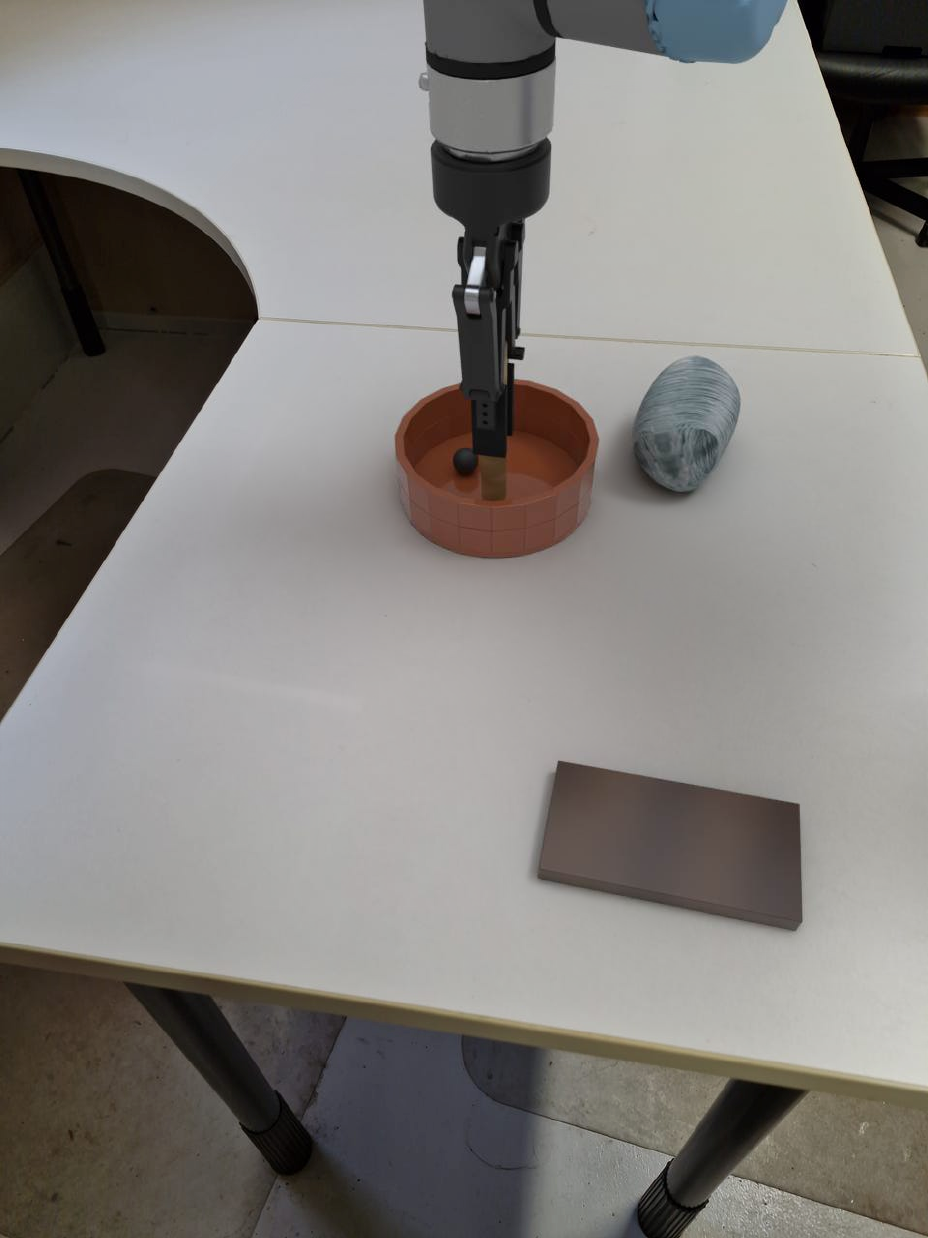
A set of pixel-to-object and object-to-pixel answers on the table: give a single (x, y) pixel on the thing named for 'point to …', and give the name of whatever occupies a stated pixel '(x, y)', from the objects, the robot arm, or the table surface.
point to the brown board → (675, 844)
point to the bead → (465, 460)
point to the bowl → (535, 482)
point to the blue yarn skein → (686, 422)
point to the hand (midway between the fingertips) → (493, 441)
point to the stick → (494, 467)
